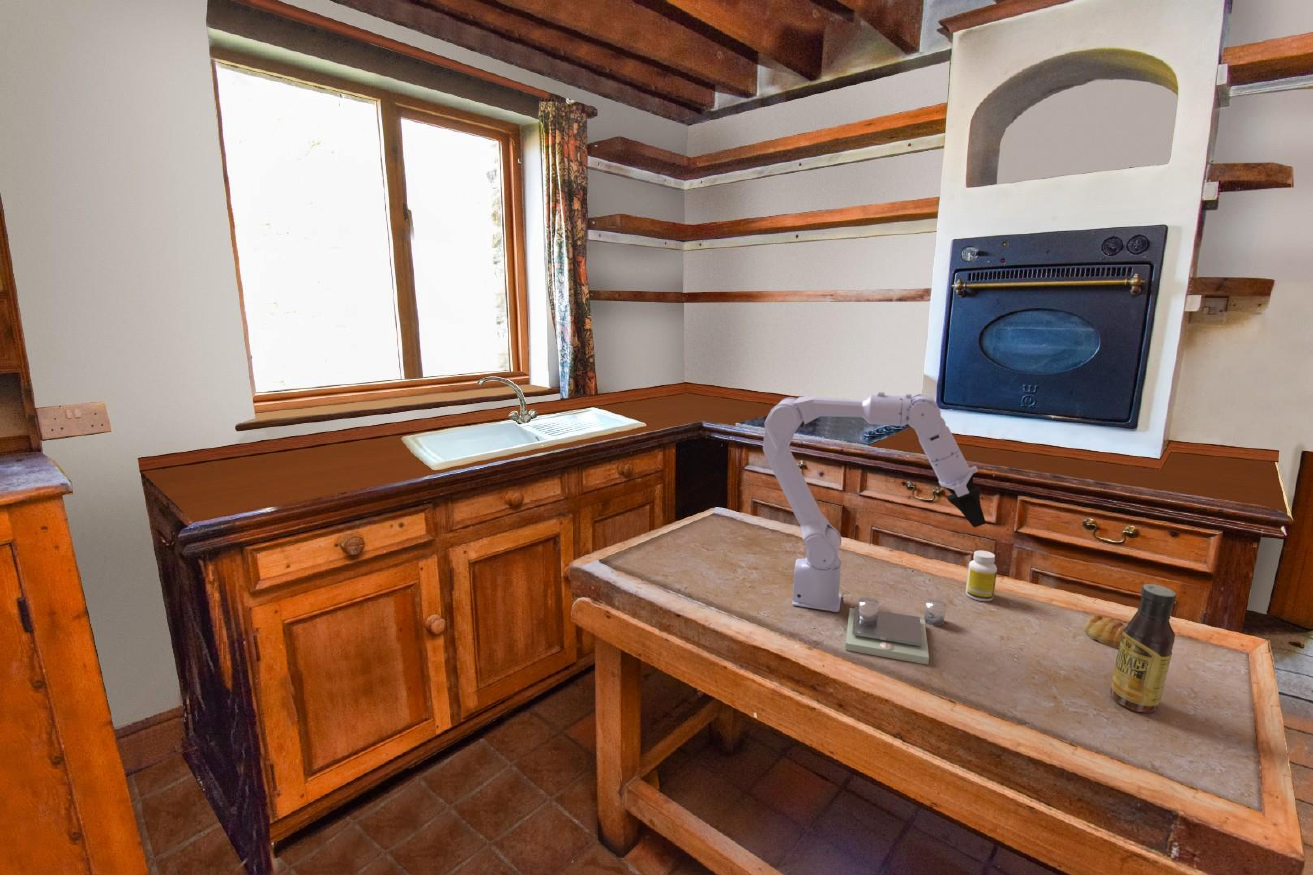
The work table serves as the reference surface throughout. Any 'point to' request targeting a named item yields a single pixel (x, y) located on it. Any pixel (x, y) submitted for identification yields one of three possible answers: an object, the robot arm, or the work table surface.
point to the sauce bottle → (1145, 652)
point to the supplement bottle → (981, 576)
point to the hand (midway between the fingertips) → (976, 518)
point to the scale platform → (891, 628)
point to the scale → (887, 645)
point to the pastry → (1105, 630)
